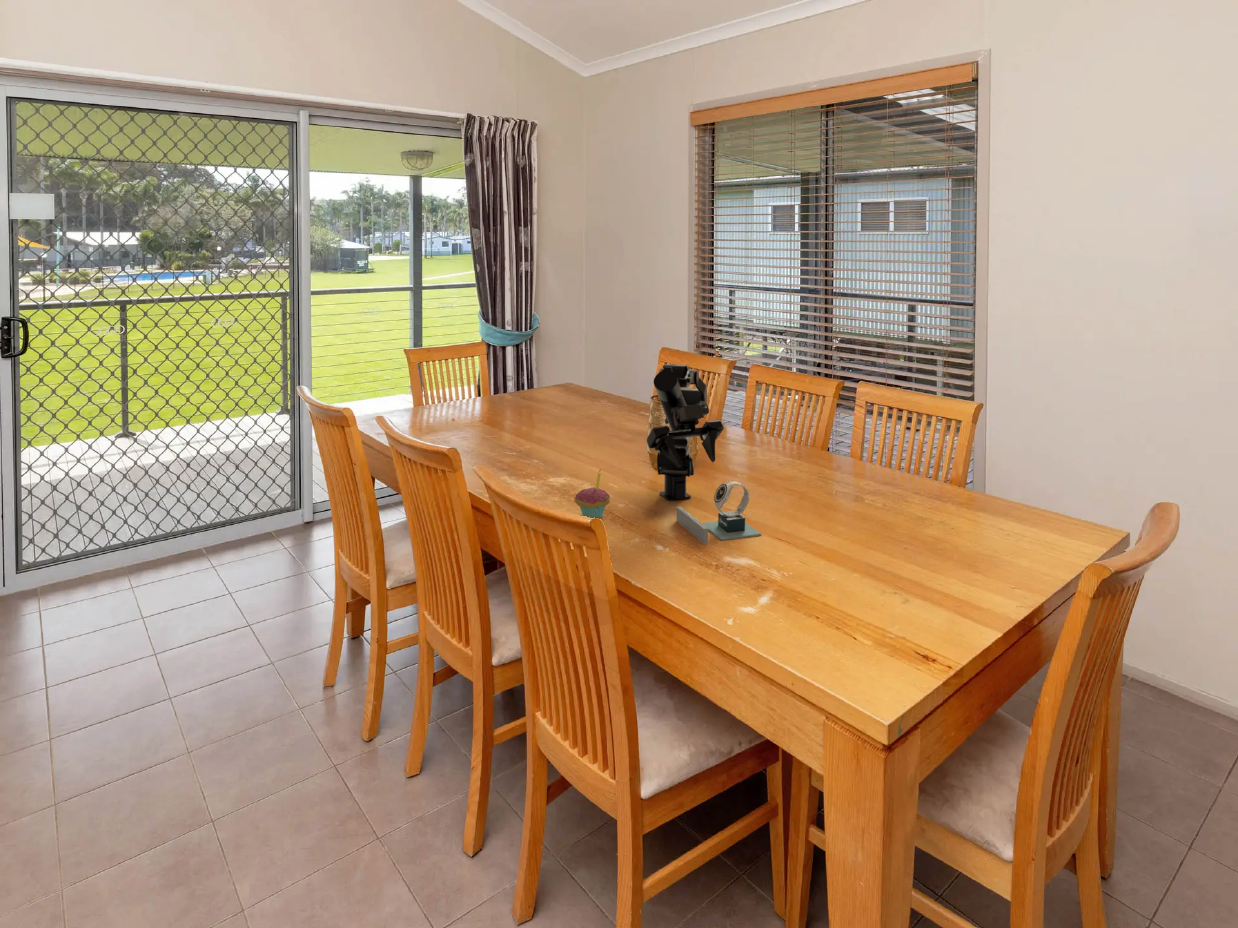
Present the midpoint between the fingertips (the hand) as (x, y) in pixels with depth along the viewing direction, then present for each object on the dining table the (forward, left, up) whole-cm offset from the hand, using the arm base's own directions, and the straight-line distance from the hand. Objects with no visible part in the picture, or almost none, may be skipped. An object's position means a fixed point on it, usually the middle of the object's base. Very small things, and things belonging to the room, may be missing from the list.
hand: (697, 463), depth 197 cm
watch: (+10, +4, -13) cm, 18 cm away
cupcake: (-9, -23, -14) cm, 29 cm away
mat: (+11, +4, -14) cm, 18 cm away
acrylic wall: (+9, -5, -14) cm, 17 cm away
